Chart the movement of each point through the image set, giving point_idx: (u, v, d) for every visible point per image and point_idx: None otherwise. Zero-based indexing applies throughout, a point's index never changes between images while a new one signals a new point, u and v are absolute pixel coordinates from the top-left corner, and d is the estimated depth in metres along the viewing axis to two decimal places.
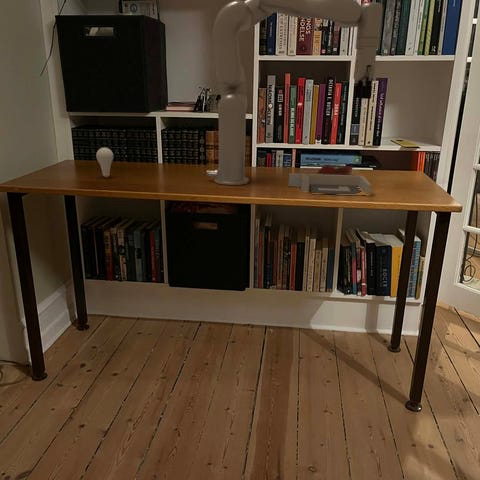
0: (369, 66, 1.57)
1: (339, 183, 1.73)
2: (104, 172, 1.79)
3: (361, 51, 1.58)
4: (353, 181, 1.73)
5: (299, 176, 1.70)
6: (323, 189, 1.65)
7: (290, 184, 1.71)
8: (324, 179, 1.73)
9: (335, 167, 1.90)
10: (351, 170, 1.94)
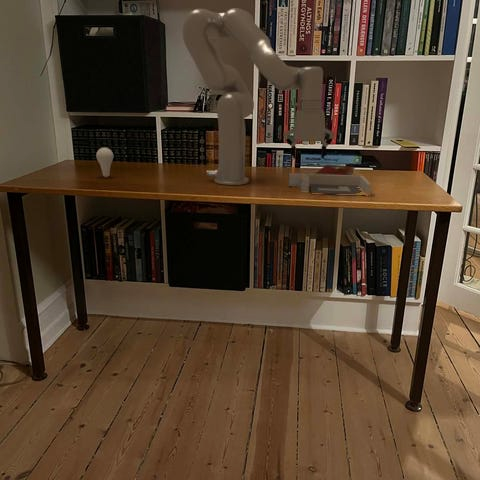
0: (325, 128, 1.61)
1: (339, 183, 1.73)
2: (104, 172, 1.79)
3: (319, 114, 1.58)
4: (353, 181, 1.73)
5: (299, 176, 1.70)
6: (323, 189, 1.65)
7: (290, 184, 1.71)
8: (324, 179, 1.73)
9: (336, 167, 1.90)
10: (353, 170, 1.94)
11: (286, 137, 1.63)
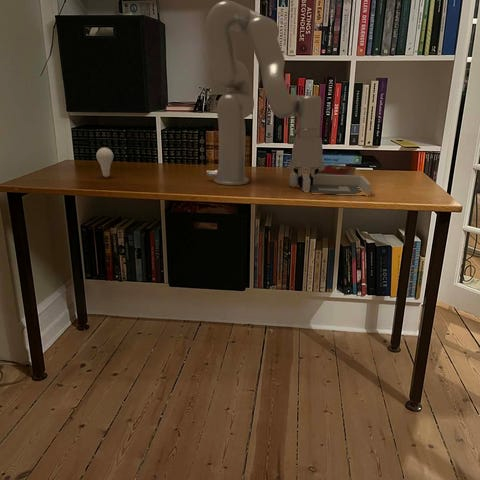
0: None
1: (339, 183, 1.73)
2: (104, 172, 1.79)
3: (317, 142, 1.61)
4: (353, 181, 1.73)
5: None
6: (323, 189, 1.65)
7: (291, 184, 1.71)
8: (324, 179, 1.73)
9: (337, 167, 1.90)
10: (354, 171, 1.93)
11: (292, 168, 1.66)
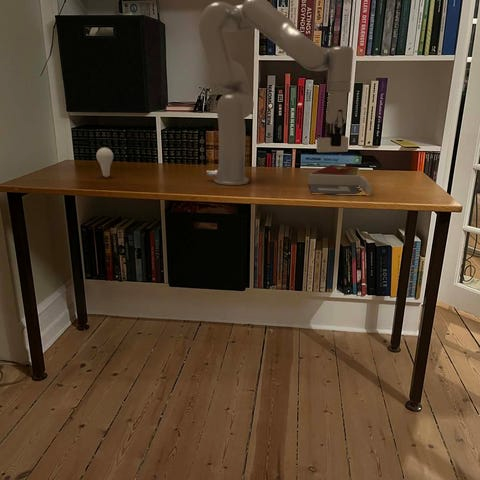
0: (340, 114, 1.53)
1: (339, 183, 1.73)
2: (104, 172, 1.79)
3: (332, 96, 1.53)
4: (353, 181, 1.73)
5: None
6: (323, 189, 1.65)
7: None
8: (324, 179, 1.73)
9: (338, 167, 1.90)
10: None
11: None
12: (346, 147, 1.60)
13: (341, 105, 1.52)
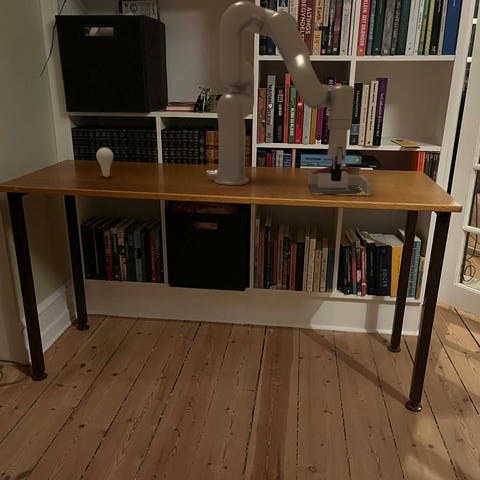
0: (339, 151, 1.57)
1: None
2: (104, 172, 1.79)
3: (332, 133, 1.57)
4: (353, 181, 1.73)
5: None
6: (323, 189, 1.65)
7: None
8: None
9: None
10: (358, 171, 1.92)
11: None
12: (346, 183, 1.63)
13: (341, 142, 1.56)
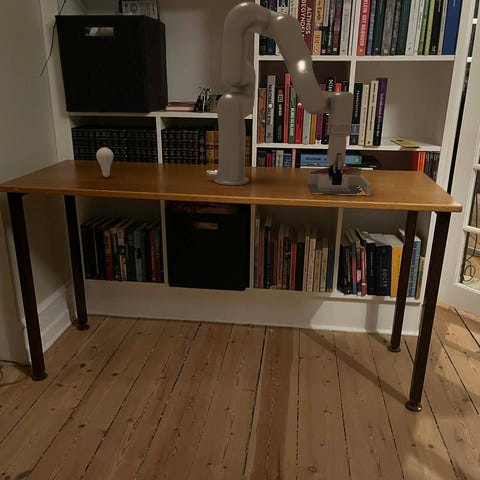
0: (339, 154, 1.56)
1: None
2: (104, 172, 1.79)
3: (331, 139, 1.57)
4: (353, 181, 1.73)
5: None
6: None
7: None
8: None
9: None
10: (360, 172, 1.91)
11: None
12: (346, 186, 1.64)
13: (340, 149, 1.56)
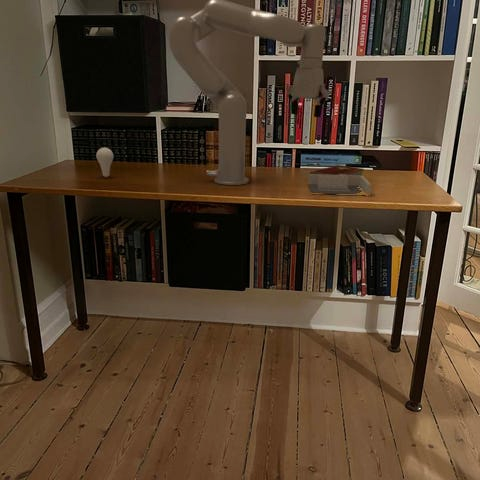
0: (321, 86, 1.64)
1: None
2: (104, 172, 1.79)
3: (313, 71, 1.62)
4: (353, 181, 1.73)
5: None
6: None
7: None
8: None
9: (341, 168, 1.89)
10: (361, 172, 1.90)
11: (288, 93, 1.72)
12: (346, 186, 1.64)
13: (321, 81, 1.63)
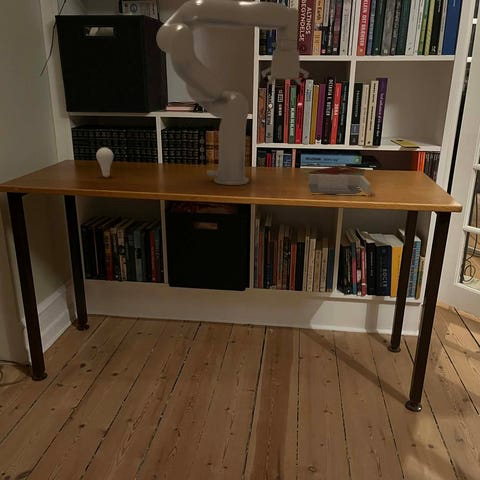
0: (299, 67, 1.75)
1: None
2: (104, 172, 1.79)
3: (294, 53, 1.71)
4: (353, 181, 1.73)
5: None
6: None
7: None
8: None
9: (342, 168, 1.89)
10: (363, 173, 1.89)
11: (263, 75, 1.76)
12: (346, 186, 1.64)
13: None
